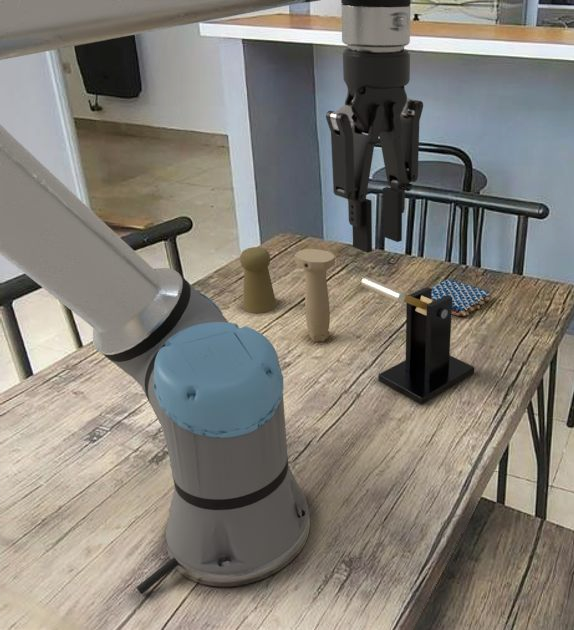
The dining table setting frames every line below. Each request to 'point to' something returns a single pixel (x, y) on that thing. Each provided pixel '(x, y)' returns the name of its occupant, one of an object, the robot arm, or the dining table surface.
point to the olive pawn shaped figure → (257, 281)
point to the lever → (396, 294)
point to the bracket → (427, 353)
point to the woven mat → (461, 296)
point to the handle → (316, 290)
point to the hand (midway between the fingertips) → (377, 243)
